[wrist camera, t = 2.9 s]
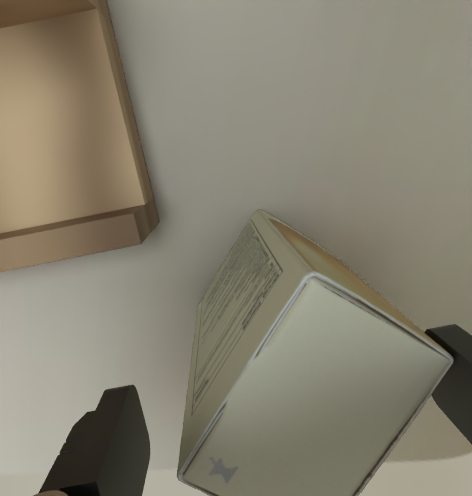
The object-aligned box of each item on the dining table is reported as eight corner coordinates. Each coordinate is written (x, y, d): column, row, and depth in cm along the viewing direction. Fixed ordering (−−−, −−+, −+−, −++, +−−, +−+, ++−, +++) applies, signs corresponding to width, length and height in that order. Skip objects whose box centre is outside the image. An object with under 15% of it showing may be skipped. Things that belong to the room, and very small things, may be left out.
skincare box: (265, 346, 23) (314, 562, 11) (194, 307, 22) (164, 491, 10) (332, 244, 22) (469, 362, 10) (260, 200, 21) (311, 269, 9)
